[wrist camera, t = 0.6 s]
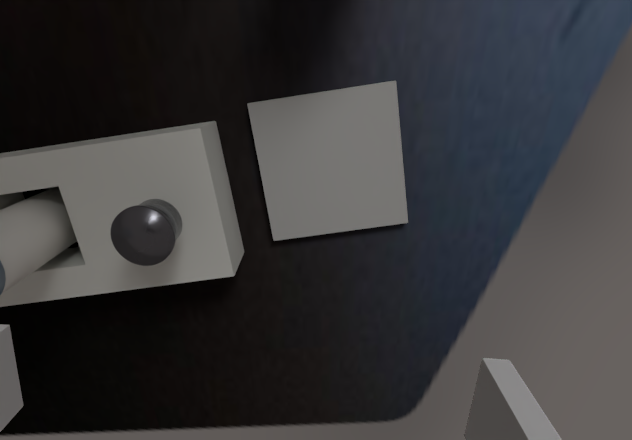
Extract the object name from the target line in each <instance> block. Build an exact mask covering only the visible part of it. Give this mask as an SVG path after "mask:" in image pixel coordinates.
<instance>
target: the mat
mask: <svg viewBox="0 0 632 440" xmlns="http://www.w3.org/2000/svg"><path fill="white" fill-rule="evenodd" d="M247 105H248V111H249V116H250V121H251V126H252V132H253V137H254V142H255V147H256V152H257V158H258V163H259V168H260V173H261V178H262V184H263V189H264V194H265V199H266V204H267V210H268V215H269V220H270V225H271V230H272V236H273V241H277V240H285V239H292V238H299V237H307V236H314V235H322V234H329V233H336V232H344V231H351V230H359V229H366V228H373V227H381V226H388V225H396V224H403V223H408V216H407V204H406V193H405V181H404V169H403V157H402V146H401V134H400V122H399V110H398V99H397V87H396V81H389V82H382V83H376V84H369V85H363V86H356V87H350V88H343V89H337V90H330V91H324V92H317V93H311V94H304V95H298V96H291V97H285V98H278V99H272V100H265V101H259V102H252V103H248V104H247Z"/></svg>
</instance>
